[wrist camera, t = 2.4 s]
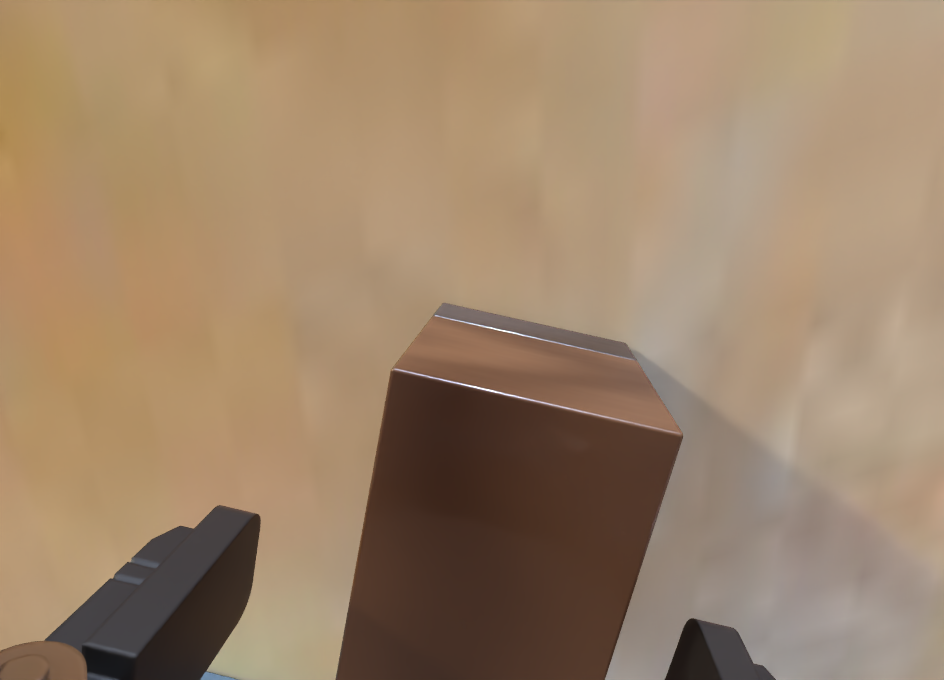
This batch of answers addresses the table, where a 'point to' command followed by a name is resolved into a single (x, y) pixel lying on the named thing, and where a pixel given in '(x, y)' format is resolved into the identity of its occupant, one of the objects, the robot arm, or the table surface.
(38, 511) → the table surface
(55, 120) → the table surface
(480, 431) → the brown long rectangular block
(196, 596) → the robot arm
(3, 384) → the table surface
